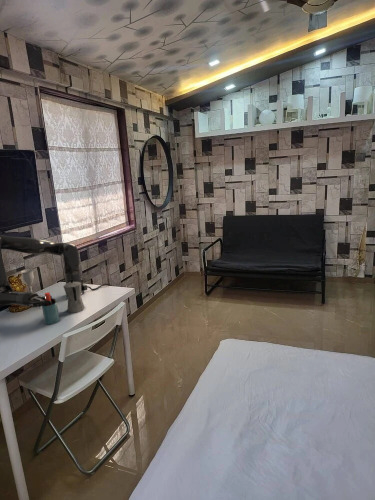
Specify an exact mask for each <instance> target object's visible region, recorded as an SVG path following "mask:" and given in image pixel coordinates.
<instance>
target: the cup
mask: <svg viewBox="0 0 375 500" xmlns="http://www.w3.org/2000/svg"><path fill="white" fill-rule="evenodd" d="M41 309H42V315H43V320H44V324H46V325H54V324H57V323H59V321H60V320H61V319H60V313H59V307H58V302H57V301H56V303H52V305H50V306H47V305H42V306H41Z"/></svg>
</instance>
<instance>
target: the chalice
mask: <svg viewBox="0 0 375 500" xmlns="http://www.w3.org/2000/svg"><path fill="white" fill-rule="evenodd" d="M20 273H21V275H22V279H23V281H24V282H25V283H26V285H27V286H29V287H28V288H29V292H32V293H33V289H32V288H33V287H32V285H33V283H34V279H35V276H34V269H33V268H26V269H23V270H21V271H20Z"/></svg>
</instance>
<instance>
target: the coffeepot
mask: <svg viewBox="0 0 375 500" xmlns="http://www.w3.org/2000/svg"><path fill="white" fill-rule="evenodd" d="M70 281H71V282H69V283H67V284H66V283H65V284H64V285H63V289H64V292H65V295H66V298H67V312H68V313H70V314H76V313H80V312H82V311H84V309H85V304H84V301H83V299H82V297H81V296H82V295H81V283H80V282H73V279H71V280H70Z"/></svg>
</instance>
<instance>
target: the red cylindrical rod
mask: <svg viewBox="0 0 375 500" xmlns="http://www.w3.org/2000/svg"><path fill="white" fill-rule="evenodd" d="M50 295H51V292H45V293H44V296H45V298H46V300H48V301H51V297H50ZM47 306H50V305H47Z"/></svg>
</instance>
